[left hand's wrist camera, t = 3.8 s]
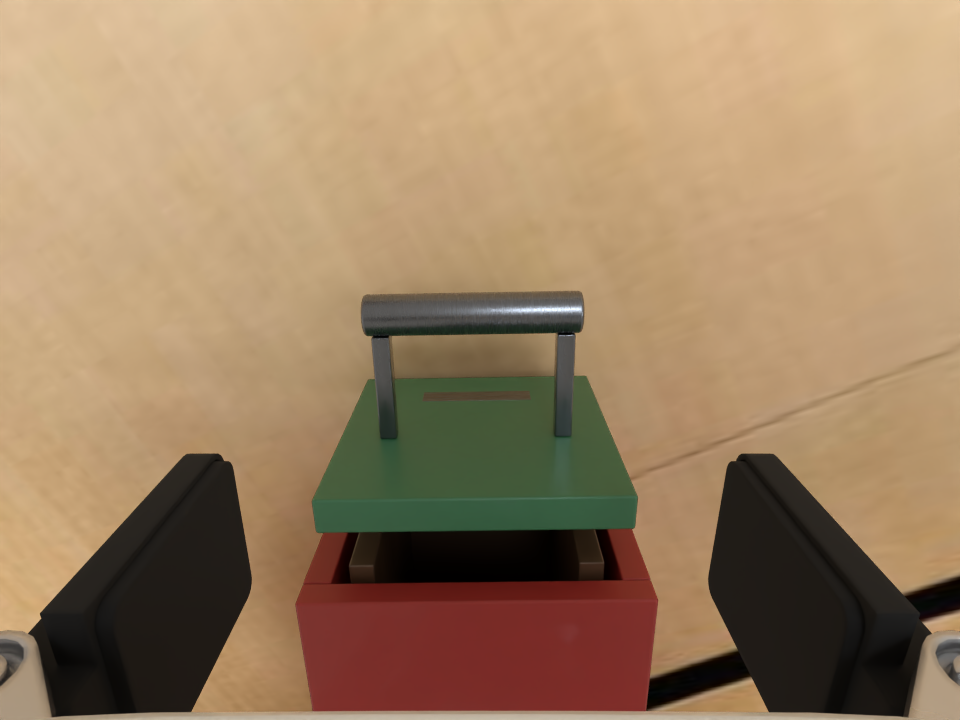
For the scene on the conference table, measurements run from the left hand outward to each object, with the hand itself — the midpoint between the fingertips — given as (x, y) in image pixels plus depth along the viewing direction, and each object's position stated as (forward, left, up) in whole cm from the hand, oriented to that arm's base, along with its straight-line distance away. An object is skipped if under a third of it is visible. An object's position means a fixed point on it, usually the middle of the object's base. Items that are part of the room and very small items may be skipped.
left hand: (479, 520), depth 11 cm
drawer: (-7, +7, -15) cm, 18 cm away
